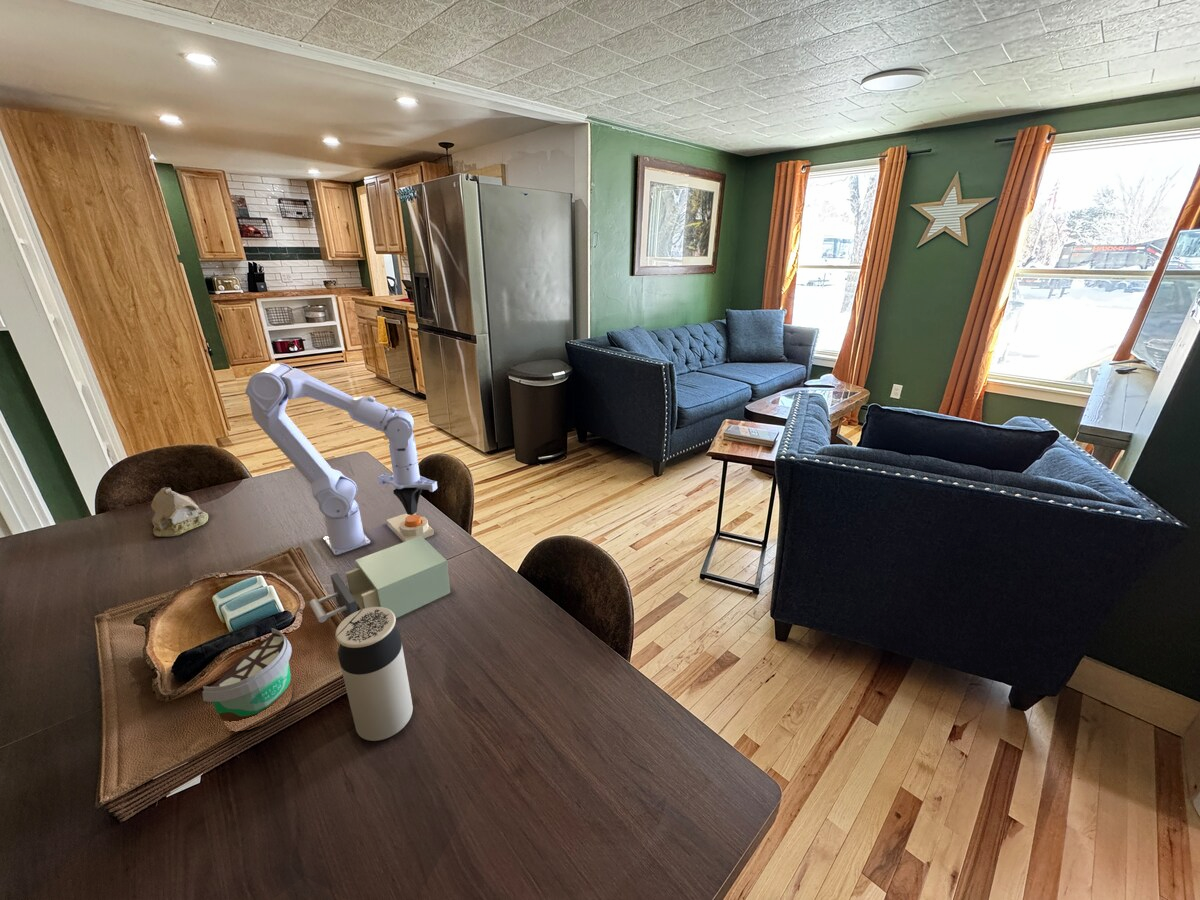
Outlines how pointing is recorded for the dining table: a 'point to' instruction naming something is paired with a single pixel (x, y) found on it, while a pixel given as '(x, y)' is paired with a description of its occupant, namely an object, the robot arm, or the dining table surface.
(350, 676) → the travel mug
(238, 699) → the food container
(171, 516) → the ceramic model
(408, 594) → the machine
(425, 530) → the control block
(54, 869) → the dining table surface
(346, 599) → the compartment
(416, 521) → the button
